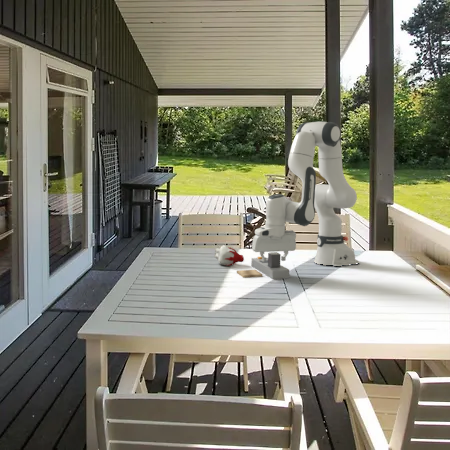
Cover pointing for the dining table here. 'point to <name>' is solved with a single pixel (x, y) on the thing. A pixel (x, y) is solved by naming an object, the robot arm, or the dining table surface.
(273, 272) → the power strip
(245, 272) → the cork coaster
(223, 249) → the white red lumpy piece
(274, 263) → the block
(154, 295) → the dining table surface
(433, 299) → the dining table surface
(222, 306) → the dining table surface
